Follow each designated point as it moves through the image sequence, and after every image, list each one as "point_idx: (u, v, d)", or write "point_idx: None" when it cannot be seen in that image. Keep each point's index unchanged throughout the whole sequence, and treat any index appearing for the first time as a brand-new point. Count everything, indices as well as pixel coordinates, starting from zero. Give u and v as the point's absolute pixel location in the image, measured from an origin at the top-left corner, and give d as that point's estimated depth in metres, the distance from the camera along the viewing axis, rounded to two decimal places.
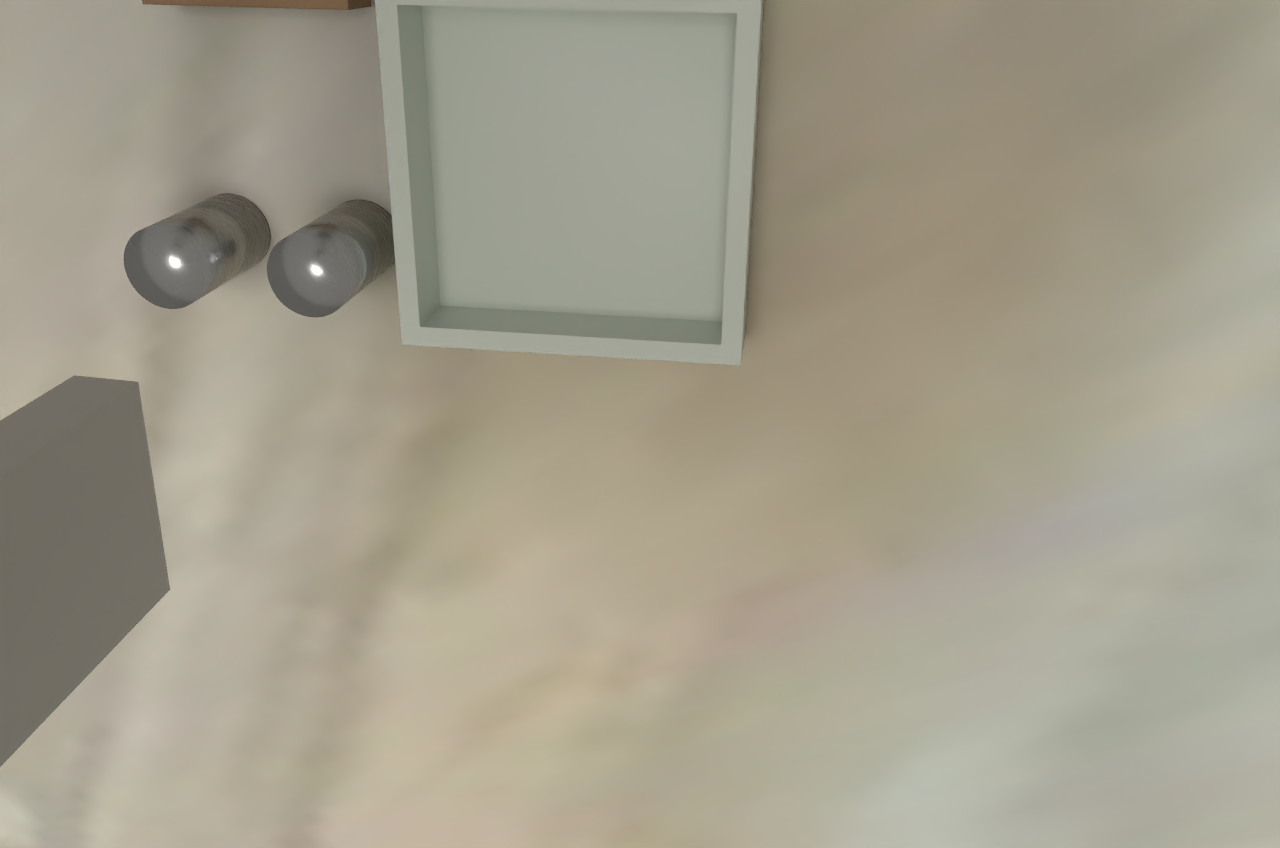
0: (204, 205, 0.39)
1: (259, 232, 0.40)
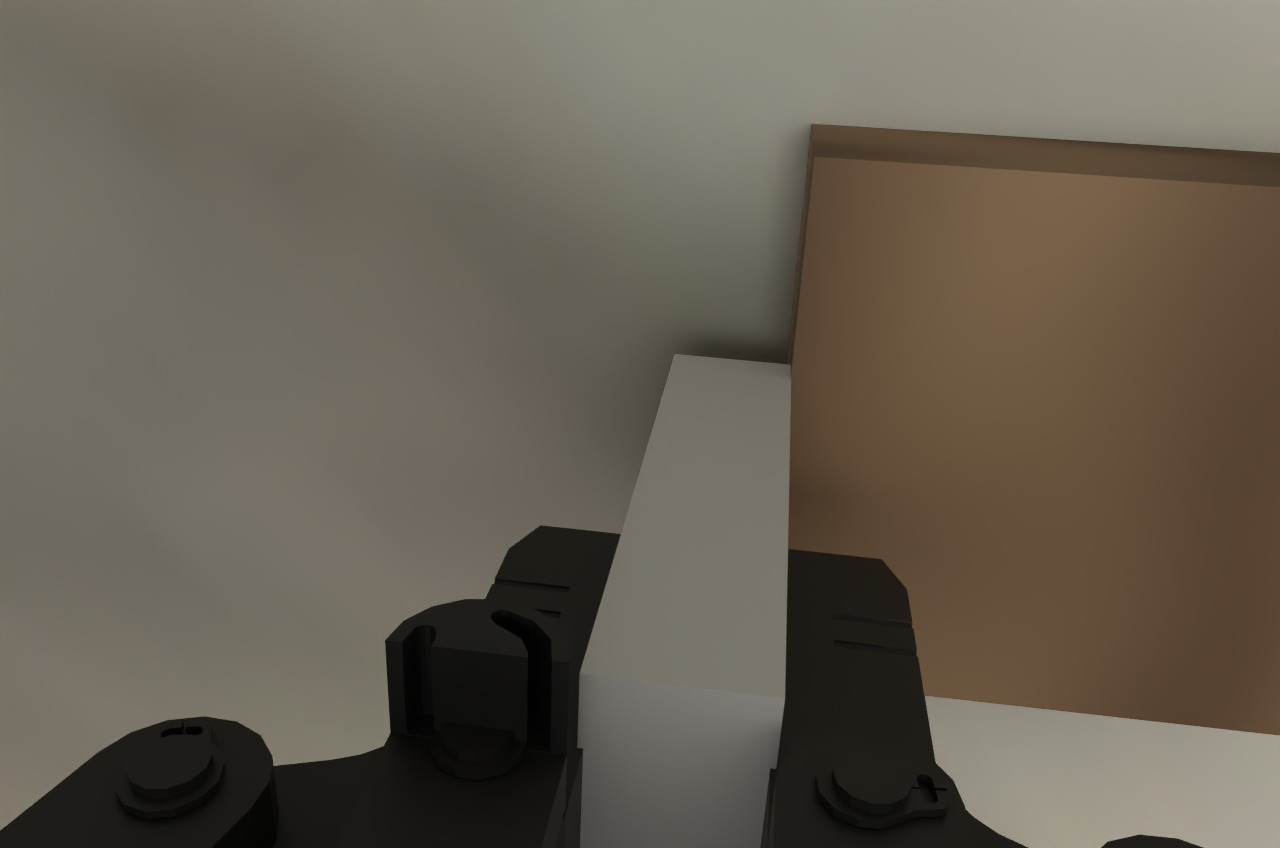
0: None
1: None
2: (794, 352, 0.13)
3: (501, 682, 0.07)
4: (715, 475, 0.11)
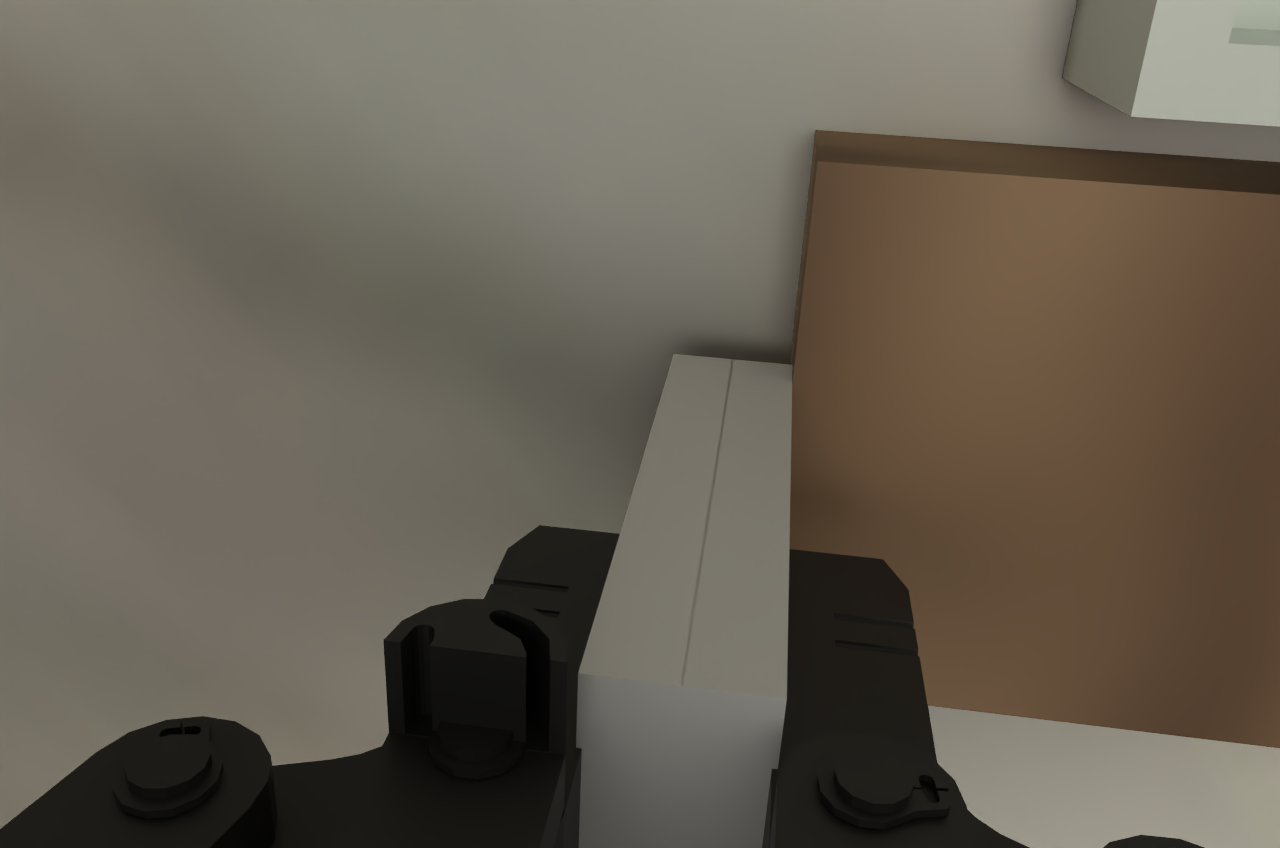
0: None
1: None
2: (796, 358, 0.13)
3: (500, 682, 0.07)
4: (716, 475, 0.11)
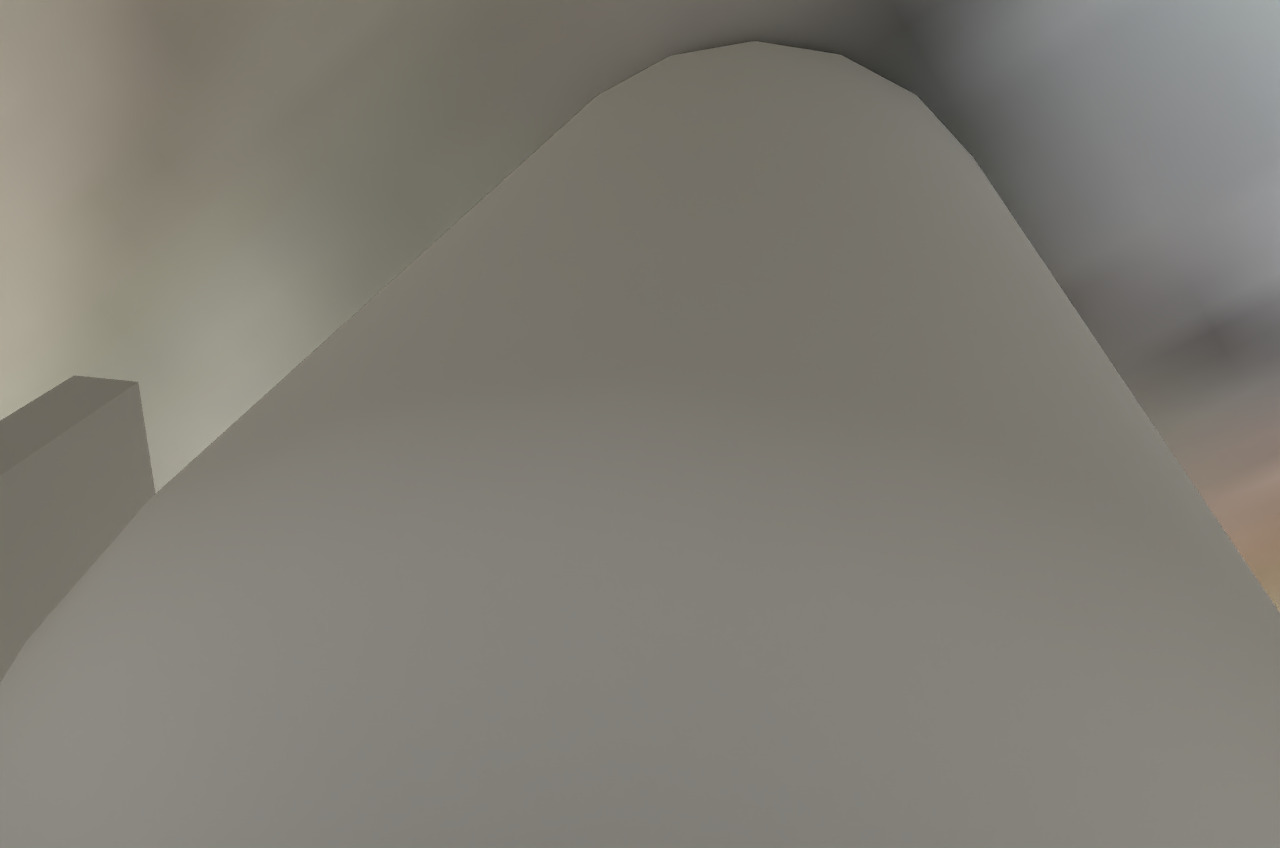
0: None
1: None
2: None
3: None
4: None
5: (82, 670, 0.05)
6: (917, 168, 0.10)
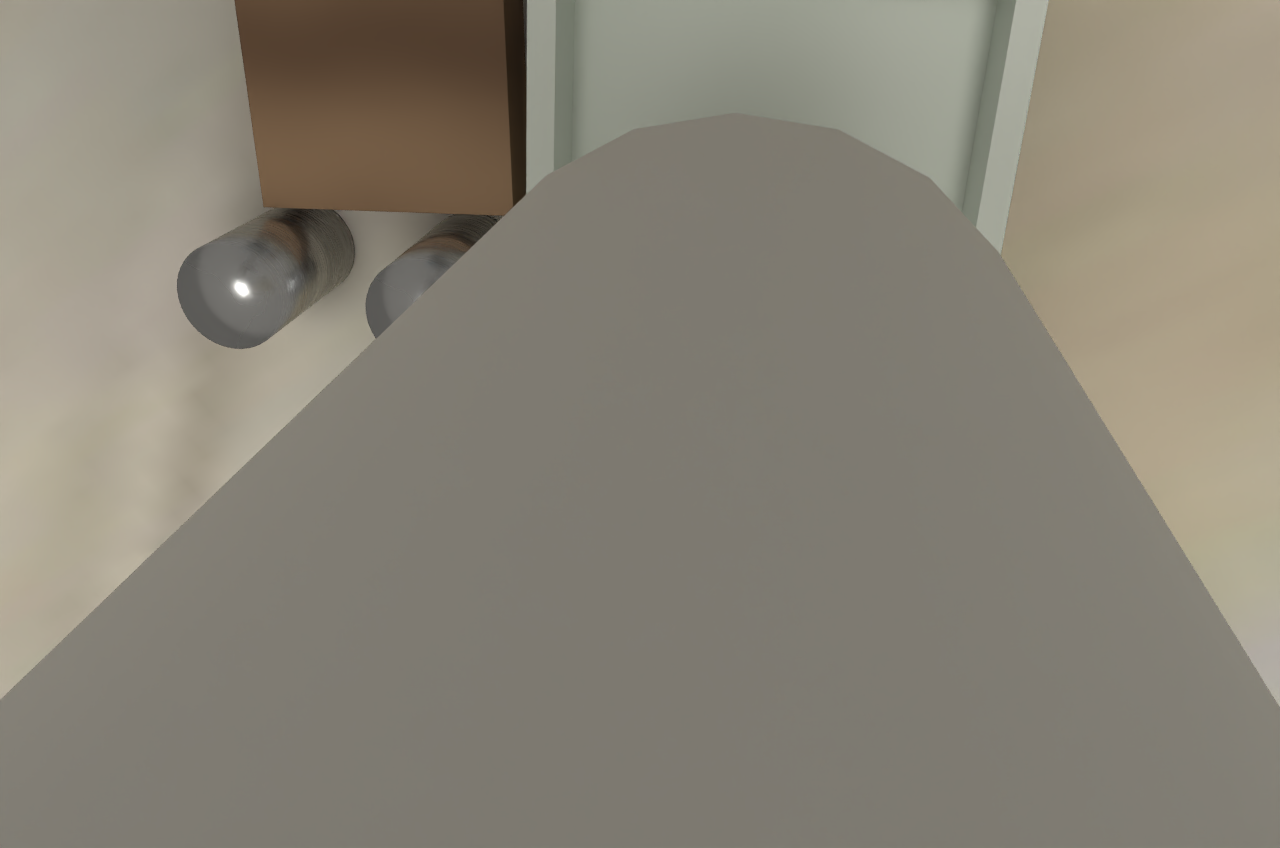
0: (277, 214, 0.30)
1: (343, 249, 0.32)
2: None
3: None
4: None
5: None
6: (947, 327, 0.08)
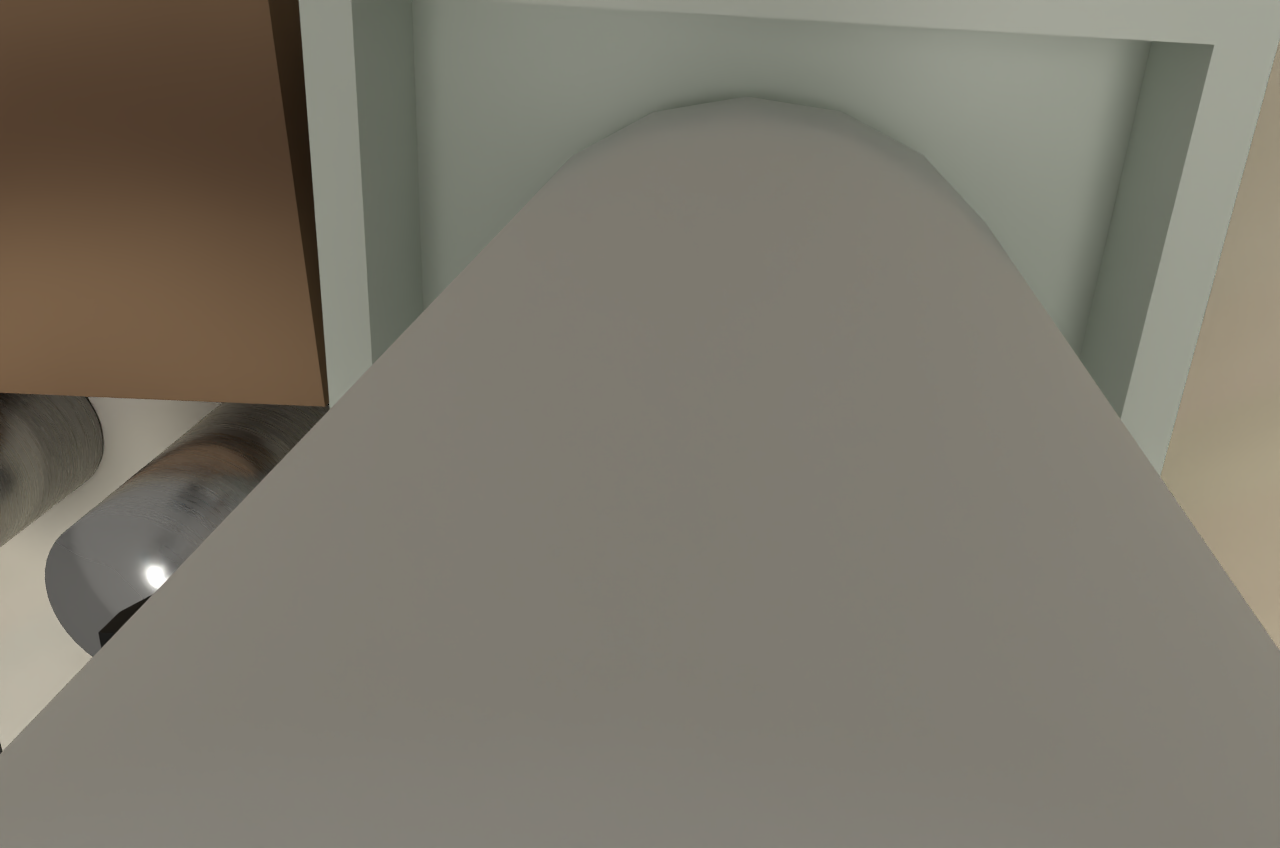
0: None
1: (74, 440, 0.20)
2: None
3: None
4: None
5: None
6: (942, 266, 0.09)
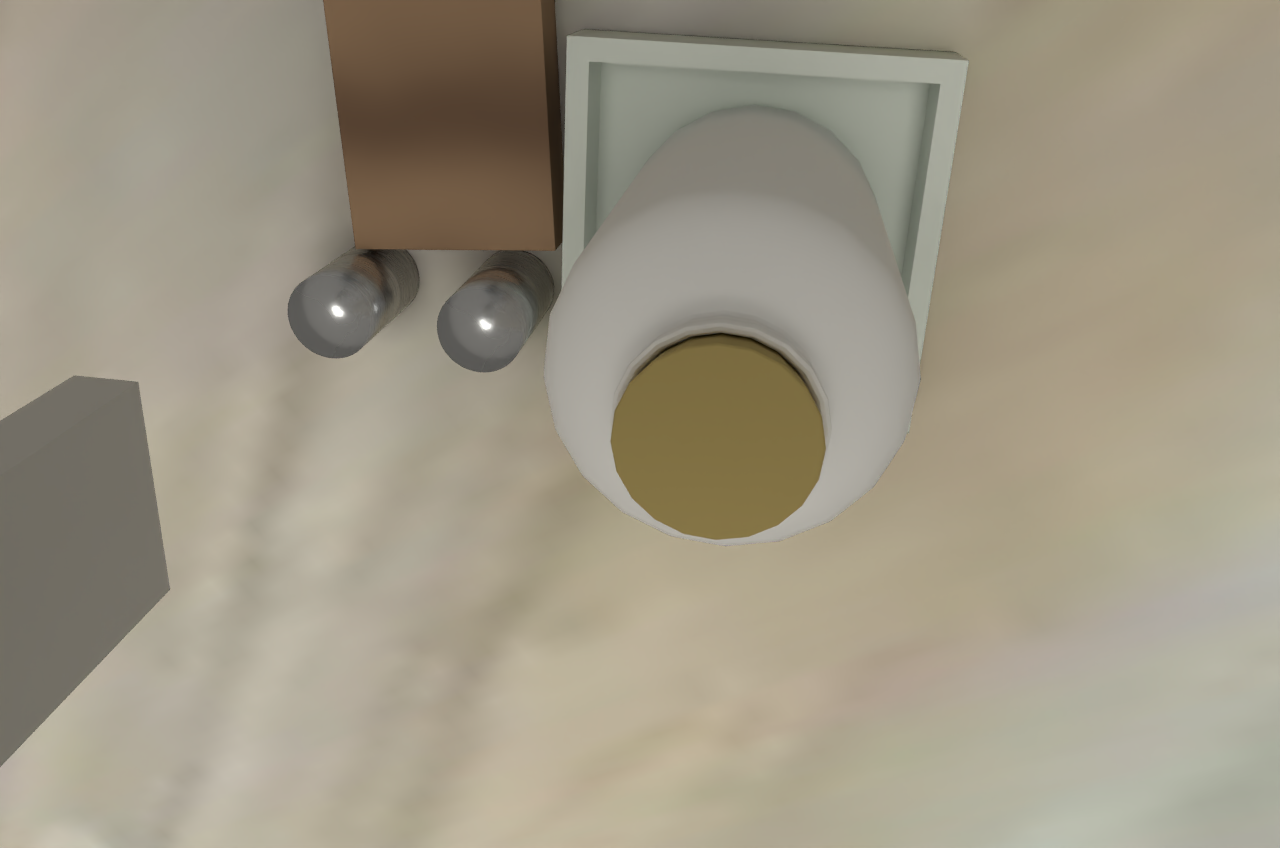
0: (362, 251, 0.38)
1: (411, 279, 0.39)
2: None
3: None
4: None
5: (613, 250, 0.23)
6: (814, 156, 0.28)
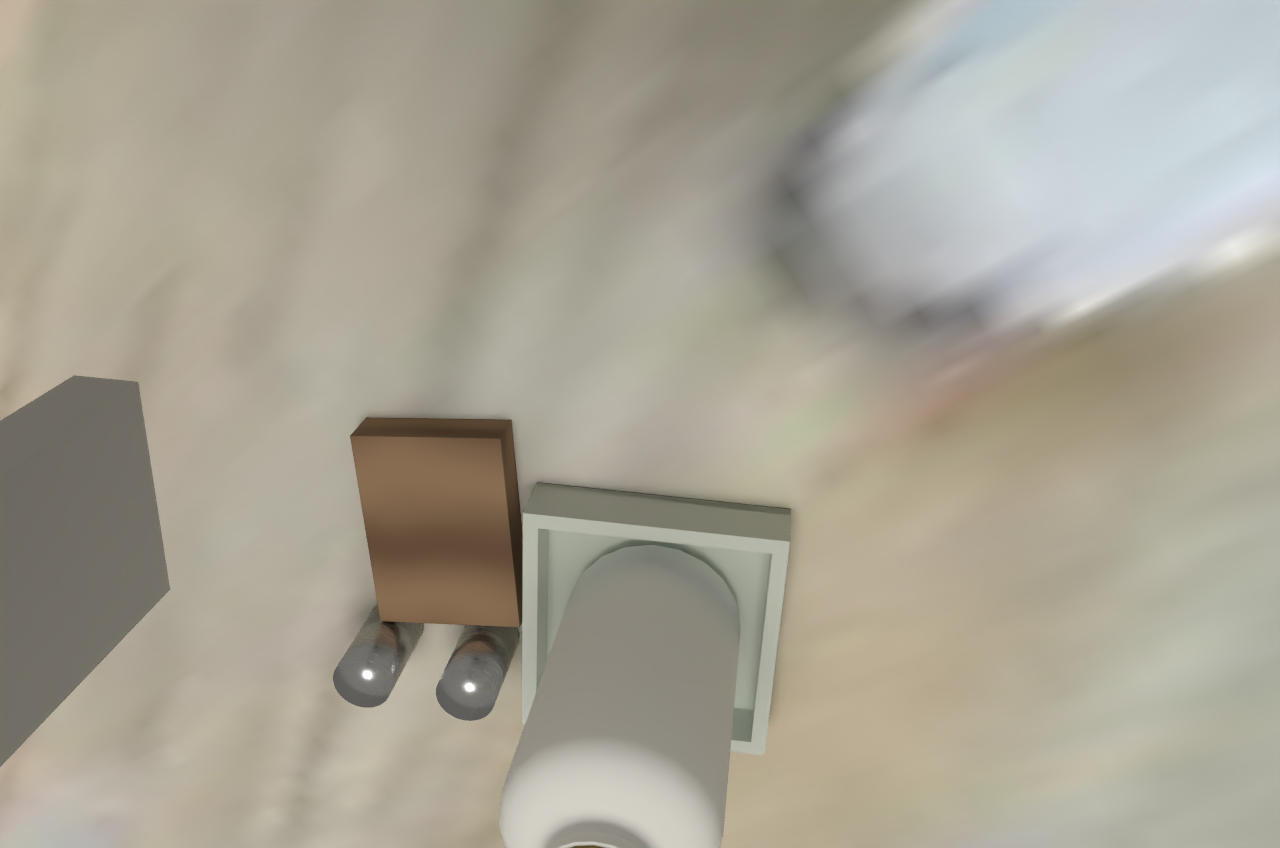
0: (383, 621, 0.54)
1: (418, 631, 0.55)
2: (450, 437, 0.49)
3: None
4: None
5: (537, 772, 0.39)
6: (676, 642, 0.45)
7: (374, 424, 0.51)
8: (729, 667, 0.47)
